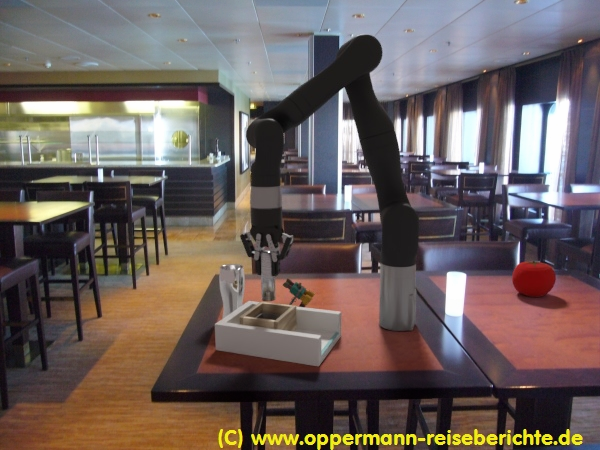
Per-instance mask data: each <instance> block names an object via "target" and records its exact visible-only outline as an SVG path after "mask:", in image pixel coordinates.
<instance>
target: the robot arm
mask: <svg viewBox="0 0 600 450" xmlns="http://www.w3.org/2000/svg"><path fill="white" fill-rule="evenodd" d="M335 56H336V57H335V60H334V61H332V62H331V63H330V64H329V65H328V66H326V67H325V68H324V69H323V70H321V71H319V72H318V73H317V74H316V75H314V76H313V77H311V78H310V79H308V80H307V81H305V82H304V83H302V84H301V85H300V86H298V87H297V88H296V89H295V90H293V91H292V92H291V93H289V94H288V95H286V97H285V98H283V99H282V100H281V101H280V102H279V103H278V104H277V105H276V106H274V107H272V108H270V109H269V110H267V111H265V112H264V113H262V114H261V115H259V116H258V117H257V118H255V119H254V120H253V121H252V122H250V124H249V125H248V127H247V128H246V132H245V138H246V139H245V140H246V142H247V143H248V145H249V146H251V148H254V149H255V151H254V152H255V153H254V154H255V155H254V161H253V162H252V163H251V165H250V192H249V194H250V197H249V198H250V199H249V204H250V224H251V228H250V229H249V231H248V232H244V233H241V234H240V235H239V237H240V240H241V242H242V246H243V248H244V250H245V252H246V255H247V257H248V258H253V260H254V267H255V269H254V270H255V273H257V275H258V276H261V257H260V252H261V251H263V250H266V248H268V250H270V253H271V255H272V260H273V262H272V276H274V277H275V278H276V277H277V276H279V274H280V273H281V261H282V260H284V259H286V258H288V256H289V253H290V251H291V248H292V246H293V243H294V240H295V236H294V235H293V234H291V235H289V234H288V233H285V230H284V228H283V194H282V186H281V185H282V184H281V182H282V181H281V165H282V161H283V154H284V148H285V133H287V132H288V131H290V130H291V129H296V128H297V127H299V126H301V125H302V124H303V123H304V122H305V121H307V120H308V119H309V118H310V117H312V115H314V114H315V113H316V112H317V111H318V110H319V109H321V107H323V106H324V105H325V104H326V103H327V102H328V101H329V100H331V99H332V98H334V96H335V95H337V94H338V93H339V92H340V91H341V90H343V89H344V90H345V93H346V95H347V97H348V100H349V101H348V102H349V104H350V108H351V109H350V110H351V112H352V117H353V120H354V123H355V127H356V130H357V131H356V132H357V135H358V141H359V143H360V144H359V145H360V148H361V151H362V155H363V158H364V162H365V164H366V167H367V169H368V172H369V174H370V177H371V180H372V182H373V185H374V188H375V192H376V199H377V203H378V209H379V210H378V211H379V220H380V224H381V250H380V254H379V255H380V257H379V258H380V262H379V263H380V264H379V265H380V266H379V311H378V312H379V313H378V315H379V316H378V324H379V326H380V327H381V328H383V329H385V330H388V331H392V332H393V331H394V332H404V331H413V330H414V328H415V325H416V320H417V319H416V314H417V310H416V309H417V289H416V277H417V275H416V272H417V270H416V269H417V256H418V253H419V241H420V240H419V237H420V219H419V214H418V213H417V211H416V210H415V209H414V208H413V207H412V205H411V203H410V200H409V197H408V195H407V192H406V188H405V186H404V183H403V182H404V181H403V177H402V176H403V175H402V163H401V162H402V160H401V153H400V147H399V141H398V138H397V134H396V133H397V132H396V129H395V125H394V123H393V120H392V119H391V117H390V116H389V114H388V112H387V111H386V110H385V108H384V107H383V105H382V104H381V103H380V101H379V99H378V97H377V96H376V93H375V90H374V88H373V87H374V86H373V83H372V79H371V74H370V73H372V72H373V71H374V70H376V69H377V68H378V66H379V65H380V64H381V61H382V59H383V48H382V44H381V42H380V40H378V39H377V38H376V37H375V36H373V35H372V34H367V33H361V34H358V35H355V36H353V37H352V38H351V39H349V40H348V41H346V42H344V43H343V44H342V45H341V46H340V47H339V49H338V50H337V53H336V55H335ZM252 239H253V241H254V242H255V243H253V241H252ZM281 240H282V242H283V246H282V248H281V245H280V241H281ZM280 250H281V251H280Z"/></svg>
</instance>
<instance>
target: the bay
mask: <svg viewBox="0 0 600 450" xmlns="http://www.w3.org/2000/svg"><path fill="white" fill-rule="evenodd" d="M259 302H260V301H253V300H247V301H246V302H245V303H243V304H242V306H240V307H239V308H238V309H236V310H235V311H233V312H232V313H230V314H229V315H227V316H226V317H225V318H223V317H222V319H220V320H219V321H217V322H216V323H214V337H215V338H214V339H215V340H214V341H215V351H220V352H227V353H231V354H233V353H234V354H239V355H245V356H250V357H251V356H252V357H258V358H264V359H271V360H276V361H282V362H290V363H294V364H300V365H308V366H314V367H319V366H320V365H321V364H322V362H323V361H324V360H325V358H326V357H327V356H328V355H329V353H330V352H331V350H332V349H333V348H334V347H335V345H336V344H337V343H338V341H339V340H340V339H341V337H342V311H337V310H331V309H330V310H329V309H321V308H314V307H313V308H312V307H306V306H305V307H299V306H297V305H295V306H296V322H297V328H296V329H295V330H294V331H286V330H279V329H271V328H264V327H257V326H249V325H242V324H239V317H240V316H242V315H243V314H244V313H246V312H247V311H248V310H250V309H251V308H253V307H254V306H255V305H257V304H258V303H259Z"/></svg>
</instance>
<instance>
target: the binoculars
mask: <svg viewBox="0 0 600 450" xmlns="http://www.w3.org/2000/svg"><path fill="white" fill-rule="evenodd" d="M282 286H283V287H284V288H285V289H288V290H289V293H290V294H291V295H293V297H292V298H291V301H290V303H289V304H288V305H293V303H296V302H297V299H298V300H300V301H301V302H300V304H299V306H298V307H305V308H306V307H307V306H308V304H309V303H310V302H311V301H313V299H314V298H313V297H314V296H315V295H316V293H315V292H314V291H312V290H310V289H309V290H307V287H305V286H303V285H302V283H301V282H297V281H295V282H294V281H292V280H291V279H290V278H286V280H285V282H283V283H282Z"/></svg>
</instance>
